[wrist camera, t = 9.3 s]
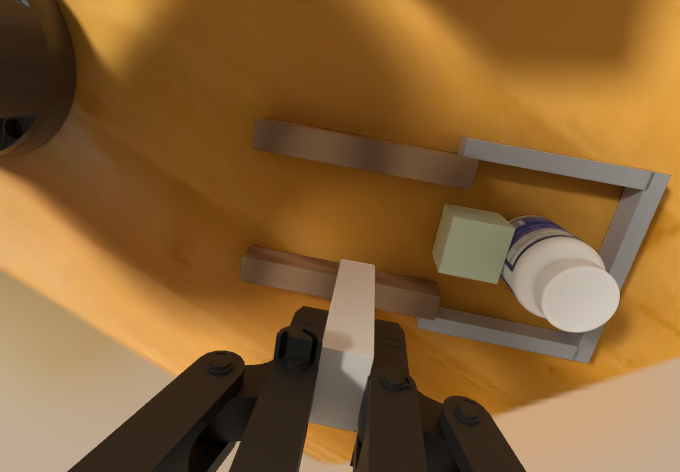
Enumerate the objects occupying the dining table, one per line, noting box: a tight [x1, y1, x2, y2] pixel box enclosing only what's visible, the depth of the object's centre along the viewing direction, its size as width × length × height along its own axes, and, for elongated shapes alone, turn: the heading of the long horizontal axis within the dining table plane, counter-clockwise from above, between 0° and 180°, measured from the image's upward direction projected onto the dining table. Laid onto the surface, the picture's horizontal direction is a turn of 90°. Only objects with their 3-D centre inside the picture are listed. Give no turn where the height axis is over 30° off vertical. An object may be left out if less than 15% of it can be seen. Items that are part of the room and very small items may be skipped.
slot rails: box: [240, 118, 479, 320], centre depth 29 cm, size 15×12×2 cm
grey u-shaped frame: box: [415, 136, 671, 363], centre depth 29 cm, size 13×14×2 cm
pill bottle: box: [500, 215, 620, 332], centre depth 26 cm, size 5×5×9 cm
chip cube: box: [432, 203, 515, 284], centre depth 28 cm, size 4×4×4 cm
